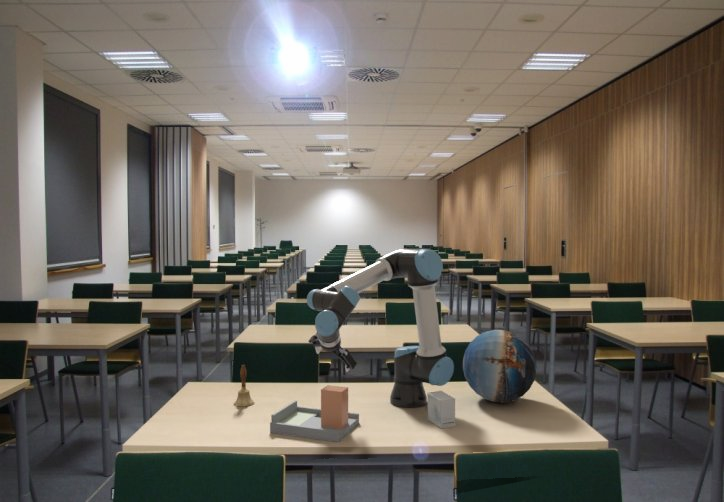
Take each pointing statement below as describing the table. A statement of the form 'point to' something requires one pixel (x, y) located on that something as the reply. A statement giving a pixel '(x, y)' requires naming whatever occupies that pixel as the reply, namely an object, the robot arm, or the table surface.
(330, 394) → the terracotta brick
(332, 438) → the tray
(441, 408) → the skincare box
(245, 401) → the hand bell
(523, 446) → the table surface
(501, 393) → the decorative globe
